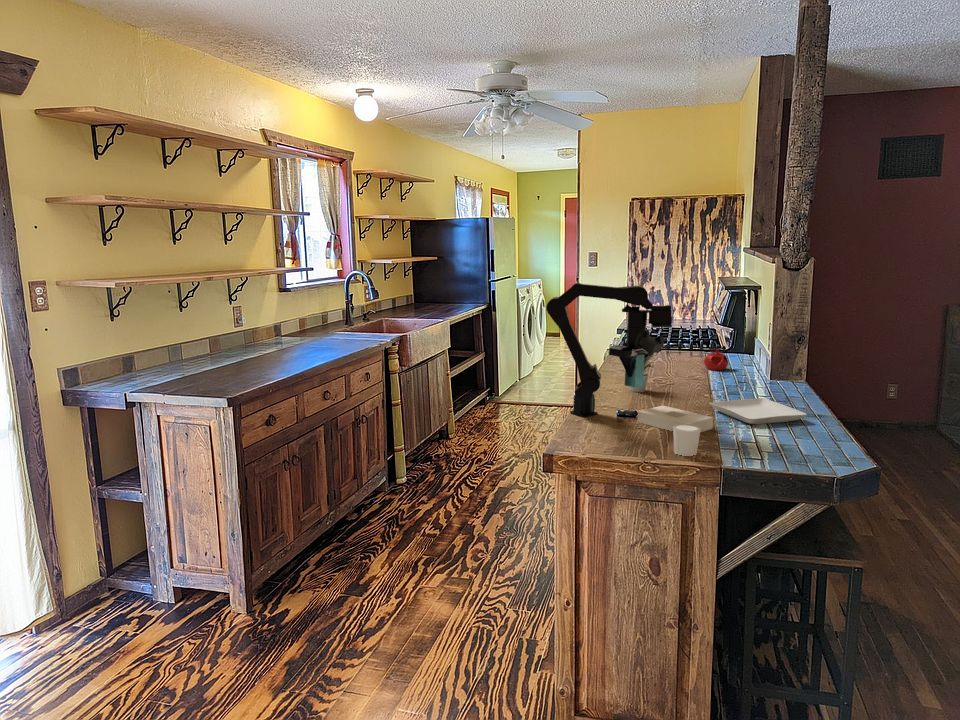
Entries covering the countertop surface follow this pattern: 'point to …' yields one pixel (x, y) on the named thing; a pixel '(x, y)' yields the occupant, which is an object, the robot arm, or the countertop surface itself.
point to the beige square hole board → (673, 418)
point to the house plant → (642, 388)
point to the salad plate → (758, 411)
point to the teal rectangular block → (636, 372)
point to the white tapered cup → (686, 439)
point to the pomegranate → (716, 361)
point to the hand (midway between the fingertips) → (634, 376)
